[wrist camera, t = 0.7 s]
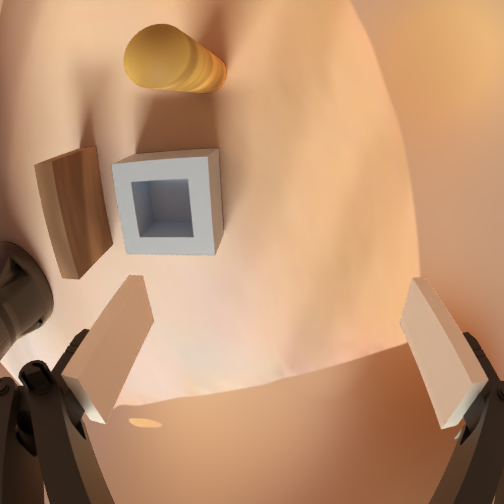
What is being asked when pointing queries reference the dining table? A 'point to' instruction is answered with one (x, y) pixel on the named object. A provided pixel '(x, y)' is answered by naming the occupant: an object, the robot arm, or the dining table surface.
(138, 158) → the block
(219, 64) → the golden brown tall cylinder
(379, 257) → the dining table surface
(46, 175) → the board
